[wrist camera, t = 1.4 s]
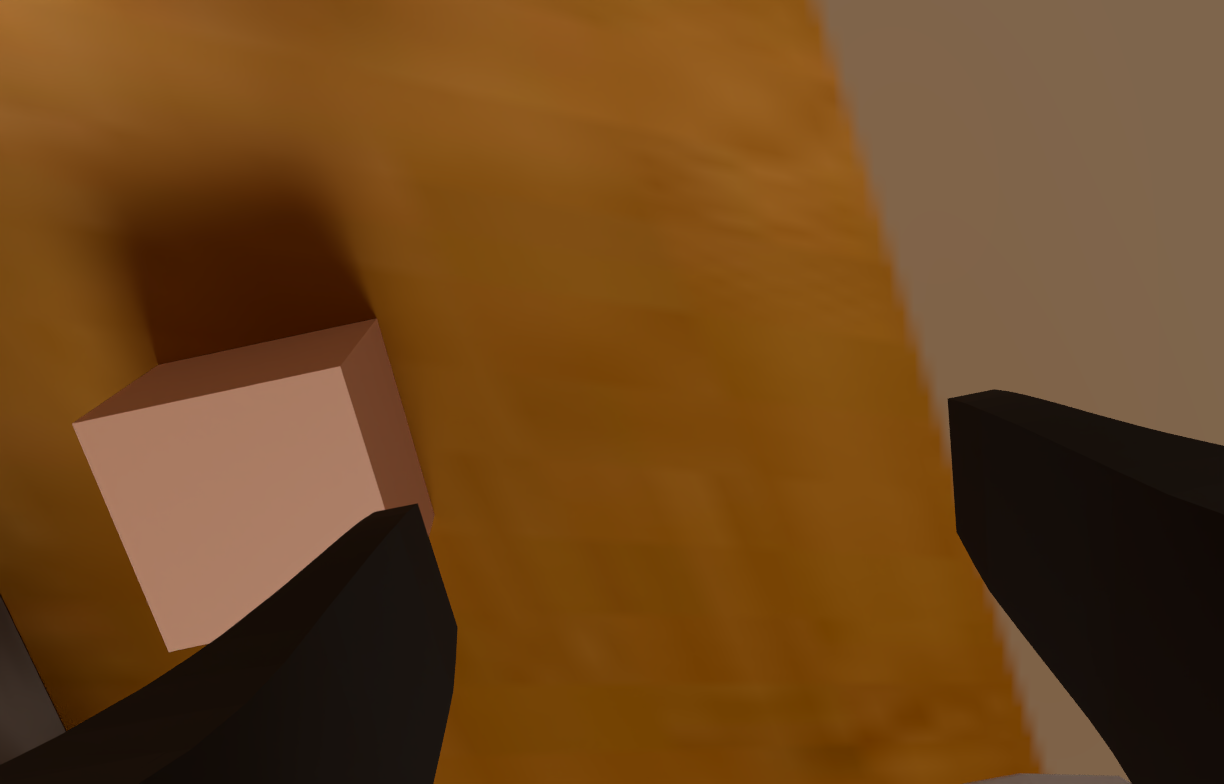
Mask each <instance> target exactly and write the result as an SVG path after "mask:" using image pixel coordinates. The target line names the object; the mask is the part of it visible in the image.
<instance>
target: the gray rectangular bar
mask: <svg viewBox="0 0 1224 784" xmlns="http://www.w3.org/2000/svg"><path fill="white" fill-rule="evenodd" d="M65 732H66V731H65V729H64V727H63V725H62V723H61V721H60V719H59V717H58V714H57V712H56V710H55V708H54V706H53V704H52V702H51V700H50V698H49V696H48V694H47V692H46V690H45V688H44V685H43V683H42V681H41V679H40V677H39V675H38V673H37V671H36V669H35V667H34V665H33V663H32V661H31V659H30V656H29V654H28V652H27V650H26V648H25V646H24V644H23V642H22V640H21V638H20V636H19V634H18V632H17V630H16V627H15V625H14V623H13V621H12V619H11V617H10V615H9V613H8V611H7V609H6V607H5V605H4V603H3V601H2V598H1V596H0V765H1V764H3V763H5V762H7V761H9V760H11V759H13V758H15V757H17V756H19V755H21V754H23V753H25V752H27V751H29V750H31V749H33V748H35V747H37V746H39V745H41V744H43V743H45V742H47V741H49V740H51V739H53V738H55V737H57V736H59V735H61V734H63V733H65Z"/></svg>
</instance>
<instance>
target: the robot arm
mask: <svg viewBox="0 0 1224 784" xmlns="http://www.w3.org/2000/svg"><path fill="white" fill-rule="evenodd" d="M948 410H949V425H950V440H951V455H952V470H953V485H954V500H955V515H956V530H957V534H958V535H959V537H960V539H961V541H962V543H963V545H964V547H965V548H966V550H967V552H968V554H969V556H970V558H971V560H972V561H973V563H974V565H975V567H976V569H977V570H978V572H979V574H980V575H981V577H982V579H983V581H984V582H985V584H986V586H987V587H988V589H989V591H990V592H991V593H992V595H993V596H994V597H995V599H996V600H997V601H998V603H999V604H1000V605H1001V607H1002V608H1003V609H1004V611H1005V612H1006V613H1007V615H1008V616H1009V617H1010V619H1011V620H1012V621H1013V622H1014V624H1015V625H1016V626H1017V628H1018V629H1019V630H1020V632H1021V633H1022V634H1023V635H1024V637H1025V638H1026V639H1027V641H1028V642H1029V643H1030V644H1031V646H1033V648H1034V650H1035V651H1036V652H1037V653H1038V655H1039V656H1040V657H1041V658H1042V660H1043V661H1044V662H1045V664H1046V665H1047V666H1048V667H1049V669H1050V670H1051V671H1052V673H1053V674H1054V675H1055V676H1056V678H1057V679H1058V680H1059V681H1060V683H1061V684H1062V685H1063V687H1064V688H1065V689H1066V690H1067V692H1068V693H1069V694H1070V696H1071V697H1072V698H1073V699H1074V700H1075V702H1076V703H1077V704H1078V706H1079V707H1080V708H1081V710H1082V711H1083V712H1084V713H1085V715H1086V716H1087V717H1088V718H1089V720H1090V721H1091V723H1092V724H1093V725H1094V727H1095V728H1096V730H1097V731H1098V733H1099V734H1100V735H1101V737H1102V738H1103V740H1104V741H1105V742H1106V744H1107V745H1108V747H1109V748H1110V749H1111V751H1112V752H1113V754H1114V755H1115V757H1116V759H1117V760H1118V762H1119V764H1120V765H1121V767H1122V768H1123V770H1124V772H1125V773H1126V775H1127V776H1128V778H1129V780H1130V781H1131V783H1130V782H1128V781H1126V780H1125V779H1123V778H1121V777H1120V776H1104V775H1060V774H1014V775H1008V776H1003V777H997V778H992V779H986V780H980V781H975V782H969V783H964V784H1224V446H1222V445H1217V444H1213V443H1208V442H1204V441H1200V440H1195V439H1191V438H1186V437H1182V436H1178V435H1173V434H1169V433H1165V432H1161V431H1157V430H1153V429H1149V428H1145V427H1141V426H1137V425H1133V424H1130V423H1126V422H1122V421H1119V420H1115V419H1111V418H1107V417H1104V416H1100V415H1097V414H1093V413H1089V412H1086V411H1082V410H1079V409H1075V408H1072V407H1068V406H1065V405H1061V404H1057V403H1054V402H1050V401H1047V400H1043V399H1039V398H1035V397H1031V396H1027V395H1023V394H1018V393H1013V392H1009V391H1002V390H989V391H984V392H980V393H974V394H969V395H964V396H959V397H954V398H949V399H948ZM456 644H457V625H456V621H455V618H454V615H453V612H452V609H451V606H450V603H449V599H448V596H447V593H446V590H445V587H444V584H443V581H442V578H441V574H440V571H439V568H438V565H437V562H436V559H435V556H434V552H433V549H432V546H431V543H430V540H429V537H428V534H427V531H426V527H425V524H424V521H423V518H422V515H421V512H420V509H419V506H418V503H417V504H412V505H407V506H402V507H396V508H391V509H386V510H381V511H376V512H373V513H372V514H370V515H369V516H367V517H365V518H364V519H363V520H361V521H360V522H358V523H357V524H356V525H355V526H353V527H352V528H351V529H350V530H348V531H347V532H346V533H345V534H344V535H342V536H341V537H340V538H339V539H338V540H336V541H335V542H334V543H333V544H332V545H331V546H329V547H328V548H327V549H326V550H325V551H324V552H322V553H321V554H320V555H319V556H318V557H317V558H315V559H314V560H313V561H312V562H311V563H310V564H308V565H307V566H306V567H305V568H304V569H303V570H301V571H300V572H299V573H298V574H297V575H296V576H294V577H293V578H292V579H291V580H290V581H289V582H287V583H286V584H285V585H284V586H283V587H281V588H280V589H279V590H278V591H276V592H275V593H274V594H273V595H271V596H270V597H269V598H268V599H266V600H265V601H264V602H263V603H261V604H260V605H259V606H258V607H256V608H255V609H254V610H252V611H251V612H250V613H249V614H247V615H246V616H245V617H244V618H242V619H241V620H240V621H239V622H237V623H236V624H235V625H234V626H232V627H231V628H230V629H228V630H227V631H226V632H225V633H223V634H222V635H221V636H219V637H218V638H216V639H215V640H214V641H212V642H211V643H210V644H208V645H207V646H205V647H204V648H202V649H201V650H200V651H198V652H197V653H195V654H194V655H192V656H191V657H190V658H188V659H187V660H185V661H183V662H182V663H180V664H179V665H177V666H176V667H174V668H173V669H171V670H170V671H168V672H167V673H165V674H164V675H162V676H161V677H159V678H158V679H156V680H155V681H153V682H151V683H150V684H148V685H147V686H145V687H143V688H142V689H140V690H138V691H137V692H135V693H133V694H131V695H130V696H128V697H126V698H124V699H123V700H121V701H119V702H117V703H116V704H114V705H112V706H110V707H109V708H107V709H105V710H103V711H102V712H100V713H98V714H96V715H95V716H93V717H91V718H89V719H88V720H86V721H84V722H82V723H80V724H79V725H77V726H75V727H73V728H72V729H70V730H68V731H66V732H65V733H63V734H61V735H59V736H57V737H55V738H53V739H51V740H49V741H47V742H45V743H43V744H41V745H39V746H37V747H35V748H33V749H31V750H29V751H27V752H25V753H23V754H21V755H19V756H17V757H15V758H13V759H11V760H9V761H7V762H5V763H3V764H1V765H0V784H433V782H434V778H435V773H436V769H437V764H438V760H439V755H440V751H441V747H442V742H443V737H444V733H445V728H446V723H447V719H448V714H449V709H450V704H451V699H452V694H453V686H454V674H455V663H456Z"/></svg>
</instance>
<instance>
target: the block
mask: <svg viewBox="0 0 1224 784" xmlns="http://www.w3.org/2000/svg"><path fill="white" fill-rule="evenodd" d="M72 425H73V427H74V430H75V432H76V434H77V437H78V439H79V441H80V444H81V446H82V448H83V451H84V453H85V456H86V458H87V460H88V463H89V465H90V467H91V470H92V472H93V474H94V477H95V479H96V482H97V484H98V486H99V489H100V491H101V493H102V496H103V498H104V500H105V503H106V505H107V507H108V510H109V512H110V515H111V517H112V519H113V522H114V524H115V526H116V529H117V531H118V533H119V536H120V538H121V541H122V543H123V545H124V548H125V550H126V552H127V555H128V557H129V559H130V562H131V564H132V566H133V569H134V571H135V574H136V576H137V578H138V581H139V583H140V585H141V588H142V590H143V592H144V595H145V597H146V599H147V602H148V604H149V607H150V609H151V611H152V614H153V616H154V618H155V621H156V623H157V625H158V628H159V630H160V633H161V635H162V637H163V640H164V642H165V644H166V647H167V649H168V651H169V652H172V651H176V650H181V649H185V648H190V647H194V646H199V645H204V644H208V643H211V642H212V641H214V640H215V639H216V638H218V637H219V636H221V635H222V634H223V633H225V632H226V631H227V630H228V629H230V628H231V627H232V626H234V625H235V624H236V623H237V622H239V621H240V620H241V619H242V618H244V617H245V616H246V615H247V614H249V613H250V612H251V611H252V610H254V609H255V608H256V607H258V606H259V605H260V604H261V603H263V602H264V601H265V600H266V599H268V598H269V597H270V596H271V595H273V594H274V593H275V592H276V591H278V590H279V589H280V588H281V587H283V586H284V585H285V584H286V583H287V582H289V581H290V580H291V579H292V578H293V577H294V576H296V575H297V574H298V573H299V572H300V571H301V570H303V569H304V568H305V567H306V566H307V565H308V564H310V563H311V562H312V561H313V560H314V559H315V558H317V557H318V556H319V555H320V554H321V553H322V552H324V551H325V550H326V549H327V548H328V547H329V546H331V545H332V544H333V543H334V542H335V541H336V540H338V539H339V538H340V537H341V536H342V535H344V534H345V533H346V532H347V531H348V530H350V529H351V528H352V527H353V526H355V525H356V524H357V523H358V522H360V521H361V520H363V519H364V518H365V517H367V516H369V515H370V514H372V513H373V512H376V511H381V510H386V509H391V508H396V507H402V506H407V505H412V504H417V503H418V506H419V509H420V512H421V515H422V518H423V521H424V524H425V527H426V531H427V534H428V537H429V534H430V530H431V526H432V522H433V519H434V512H433V508H432V505H431V501H430V498H429V495H428V491H427V488H426V484H425V481H424V478H423V474H422V471H421V467H420V464H419V460H418V457H417V454H416V450H415V447H414V443H413V440H412V437H411V433H410V430H409V426H408V423H407V420H406V416H405V413H404V409H403V406H402V402H401V399H400V396H399V392H398V389H397V385H396V382H395V379H394V375H393V372H392V368H391V365H390V362H389V358H388V355H387V351H386V348H385V344H384V341H383V338H382V334H381V331H380V327H379V324H378V321H377V318H376V319H371V320H366V321H362V322H357V323H352V324H348V325H343V326H338V327H334V328H329V329H324V330H320V331H315V332H310V333H306V334H301V335H296V336H291V337H287V338H282V339H277V340H273V341H268V342H263V343H259V344H254V345H249V346H245V347H240V348H235V349H231V350H226V351H221V352H217V353H212V354H207V355H203V356H198V357H193V358H189V359H184V360H179V361H175V362H170V363H165V364H160V365H157V366H156V367H154V368H153V369H151V370H150V371H149V372H147V373H146V374H144V375H143V376H141V377H140V378H138V379H137V380H135V381H134V382H132V383H131V384H129V385H128V386H127V387H125V388H124V389H122V390H121V391H119V392H118V393H116V394H115V395H113V396H112V397H110V398H109V399H107V400H106V401H105V402H103V403H102V404H100V405H99V406H97V407H96V408H94V409H93V410H91V411H90V412H88V413H87V414H85V415H84V416H83V417H81V418H80V419H78V420H77V421H75V422H74V423H72Z"/></svg>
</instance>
